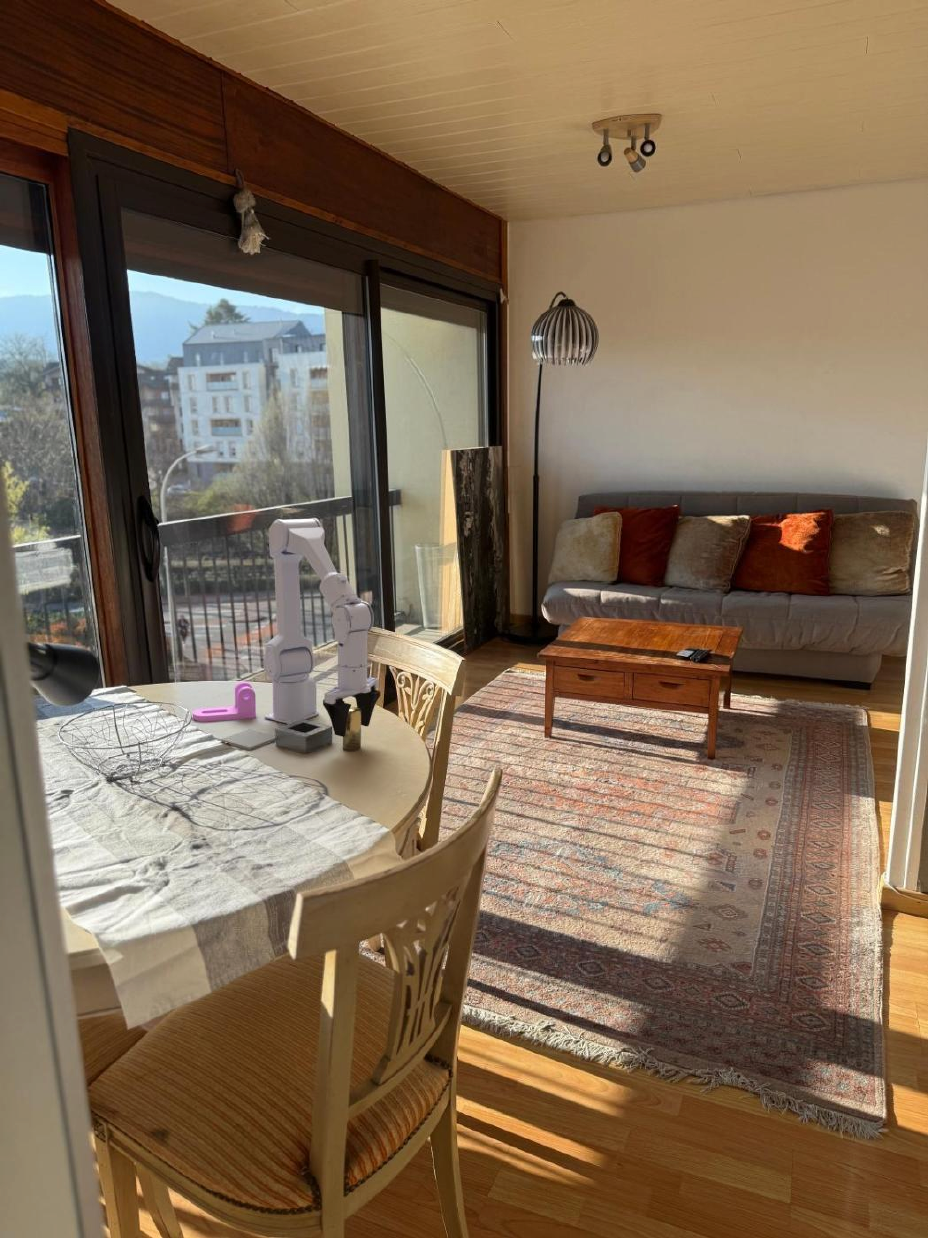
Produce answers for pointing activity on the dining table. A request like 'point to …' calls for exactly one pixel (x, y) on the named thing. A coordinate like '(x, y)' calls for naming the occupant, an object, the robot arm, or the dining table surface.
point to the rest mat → (249, 739)
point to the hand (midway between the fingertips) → (352, 730)
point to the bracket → (240, 710)
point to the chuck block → (303, 736)
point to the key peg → (353, 730)
